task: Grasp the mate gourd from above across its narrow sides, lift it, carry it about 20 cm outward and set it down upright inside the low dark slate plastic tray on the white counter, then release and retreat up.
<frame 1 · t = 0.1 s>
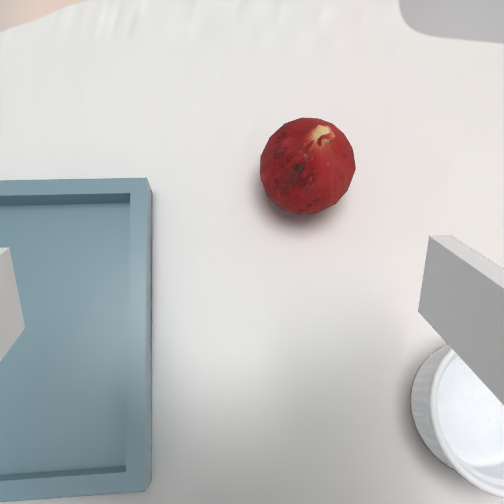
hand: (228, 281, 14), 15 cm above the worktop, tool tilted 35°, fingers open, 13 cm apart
slate tray: (4, 332, 28), on the worktop
ramekin: (466, 405, 29), on the worktop
onion: (296, 191, 32), on the worktop
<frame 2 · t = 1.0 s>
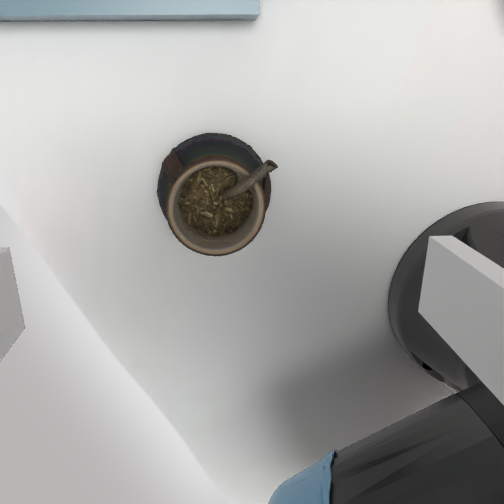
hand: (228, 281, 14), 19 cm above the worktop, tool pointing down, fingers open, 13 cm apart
mate gourd: (214, 177, 32), on the worktop
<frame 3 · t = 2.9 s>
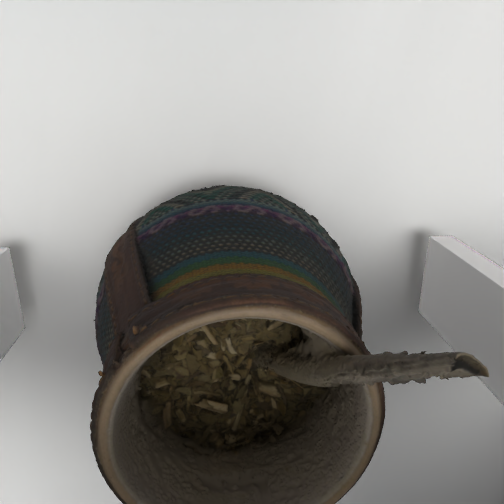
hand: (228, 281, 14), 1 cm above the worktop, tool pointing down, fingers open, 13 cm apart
mate gourd: (226, 263, 16), on the worktop
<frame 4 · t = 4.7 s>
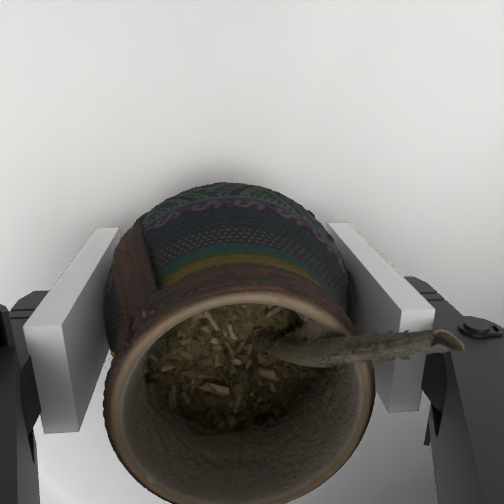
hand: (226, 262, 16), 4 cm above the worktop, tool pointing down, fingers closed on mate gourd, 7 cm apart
mate gourd: (227, 258, 17), point 3 cm above the worktop, touching gripper
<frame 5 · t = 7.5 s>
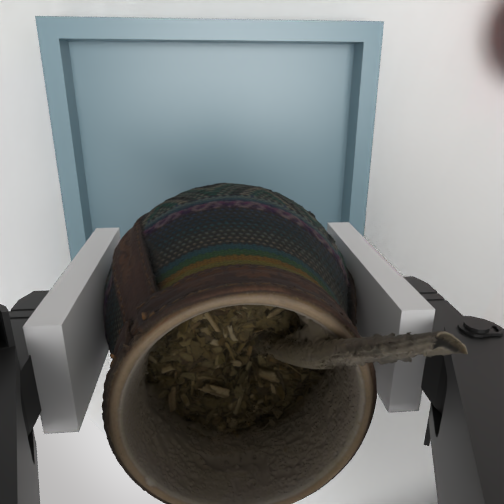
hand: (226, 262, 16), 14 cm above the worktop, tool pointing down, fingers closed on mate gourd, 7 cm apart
slate tray: (218, 181, 29), on the worktop
mate gourd: (227, 258, 16), point 14 cm above the worktop, touching gripper
when the fingers open (2 cm above the worktop, at t = 10.3 s): mate gourd stays where it is, resting on slate tray.
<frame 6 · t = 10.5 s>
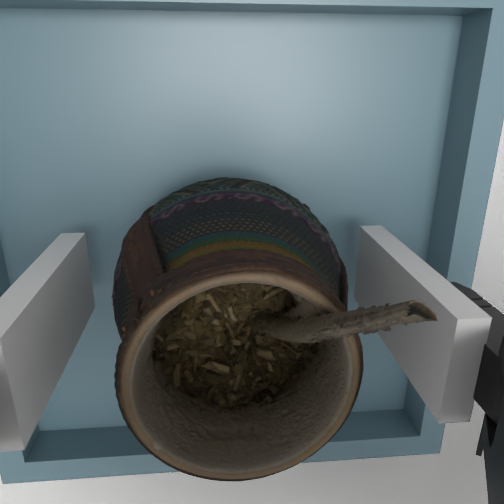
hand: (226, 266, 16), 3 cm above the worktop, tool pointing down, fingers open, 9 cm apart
slate tray: (224, 242, 18), on the worktop
mate gourd: (228, 250, 17), point 1 cm above the worktop, touching slate tray
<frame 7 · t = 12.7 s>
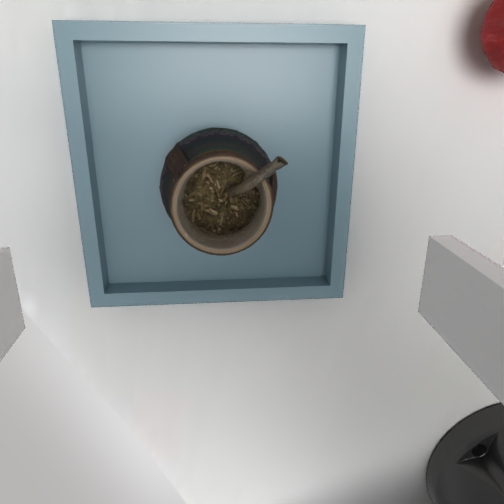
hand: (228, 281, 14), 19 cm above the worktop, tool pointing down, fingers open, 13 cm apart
slate tray: (216, 170, 32), on the worktop
mate gourd: (218, 174, 31), point 1 cm above the worktop, touching slate tray
onion: (498, 31, 30), on the worktop
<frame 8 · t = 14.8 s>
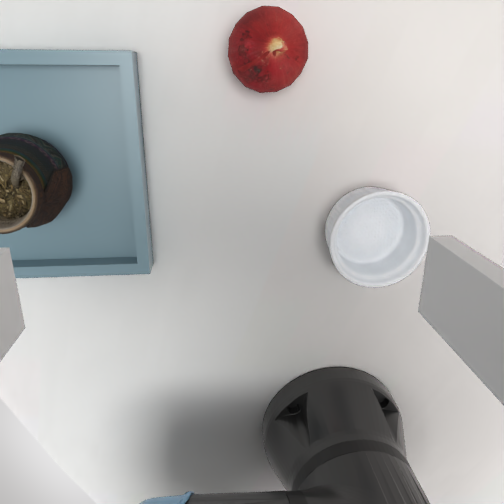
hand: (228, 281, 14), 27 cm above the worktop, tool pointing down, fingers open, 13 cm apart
slate tray: (37, 167, 38), on the worktop
ramekin: (364, 226, 43), on the worktop
mate gourd: (36, 170, 38), point 1 cm above the worktop, touching slate tray
onion: (261, 53, 37), on the worktop
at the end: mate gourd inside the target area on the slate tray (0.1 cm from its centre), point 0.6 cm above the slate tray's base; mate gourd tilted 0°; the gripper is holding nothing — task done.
